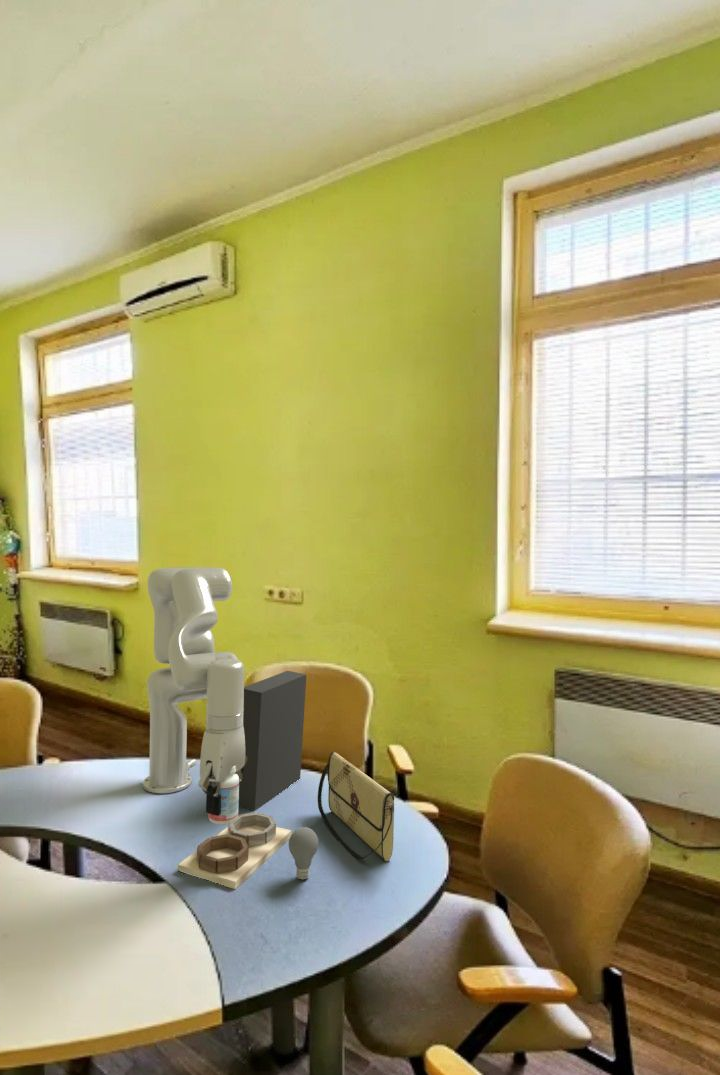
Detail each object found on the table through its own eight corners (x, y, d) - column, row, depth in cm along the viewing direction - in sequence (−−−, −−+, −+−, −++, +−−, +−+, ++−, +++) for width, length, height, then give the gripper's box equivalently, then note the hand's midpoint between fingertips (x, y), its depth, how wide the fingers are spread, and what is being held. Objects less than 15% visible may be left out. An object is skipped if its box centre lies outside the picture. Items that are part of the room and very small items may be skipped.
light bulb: (304, 866, 127) (305, 818, 127) (323, 878, 123) (324, 829, 123) (281, 877, 123) (282, 828, 123) (300, 890, 119) (301, 839, 118)
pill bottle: (202, 820, 125) (203, 766, 125) (221, 809, 130) (222, 756, 130) (225, 828, 122) (226, 772, 122) (244, 815, 127) (245, 762, 127)
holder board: (239, 823, 144) (239, 807, 144) (291, 836, 139) (291, 819, 139) (177, 871, 124) (178, 852, 124) (235, 889, 119) (235, 869, 118)
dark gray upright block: (271, 772, 174) (273, 668, 174) (304, 780, 169) (306, 673, 169) (223, 802, 155) (225, 685, 155) (259, 812, 150) (261, 691, 150)
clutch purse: (309, 813, 151) (311, 753, 150) (334, 807, 154) (336, 748, 154) (370, 874, 125) (372, 802, 124) (399, 866, 128) (401, 795, 128)
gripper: (234, 706, 135) (232, 787, 135) (182, 730, 119) (181, 821, 119) (263, 711, 132) (261, 793, 132) (214, 736, 116) (213, 829, 117)
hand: (223, 805), depth 126 cm, fingers closed on pill bottle, 6 cm apart
